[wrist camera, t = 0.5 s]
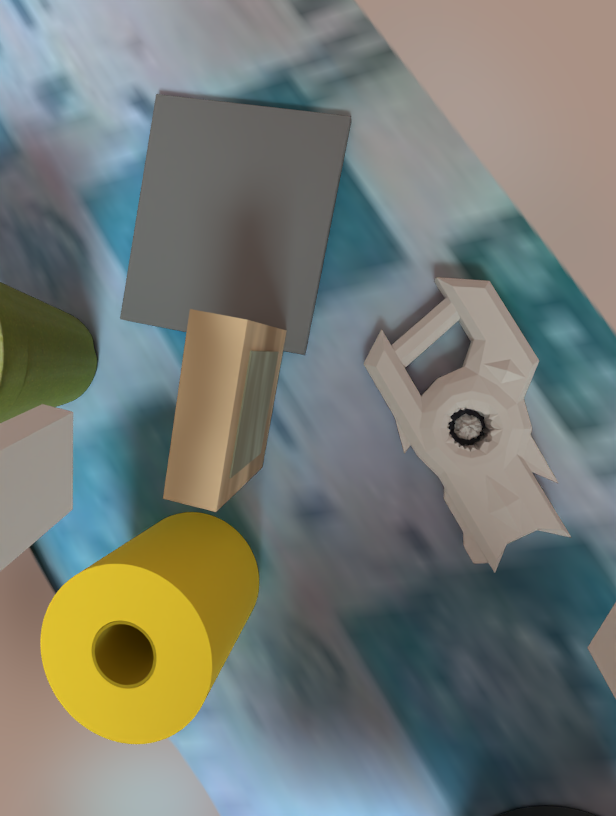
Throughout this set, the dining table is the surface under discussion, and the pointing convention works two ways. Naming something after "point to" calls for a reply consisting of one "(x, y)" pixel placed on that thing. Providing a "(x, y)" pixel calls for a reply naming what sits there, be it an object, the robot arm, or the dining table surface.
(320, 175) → the mat
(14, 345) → the plant pot
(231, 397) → the rectangular block
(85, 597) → the yellow paper roll
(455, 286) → the light grey toy spaceship
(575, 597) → the dining table surface
